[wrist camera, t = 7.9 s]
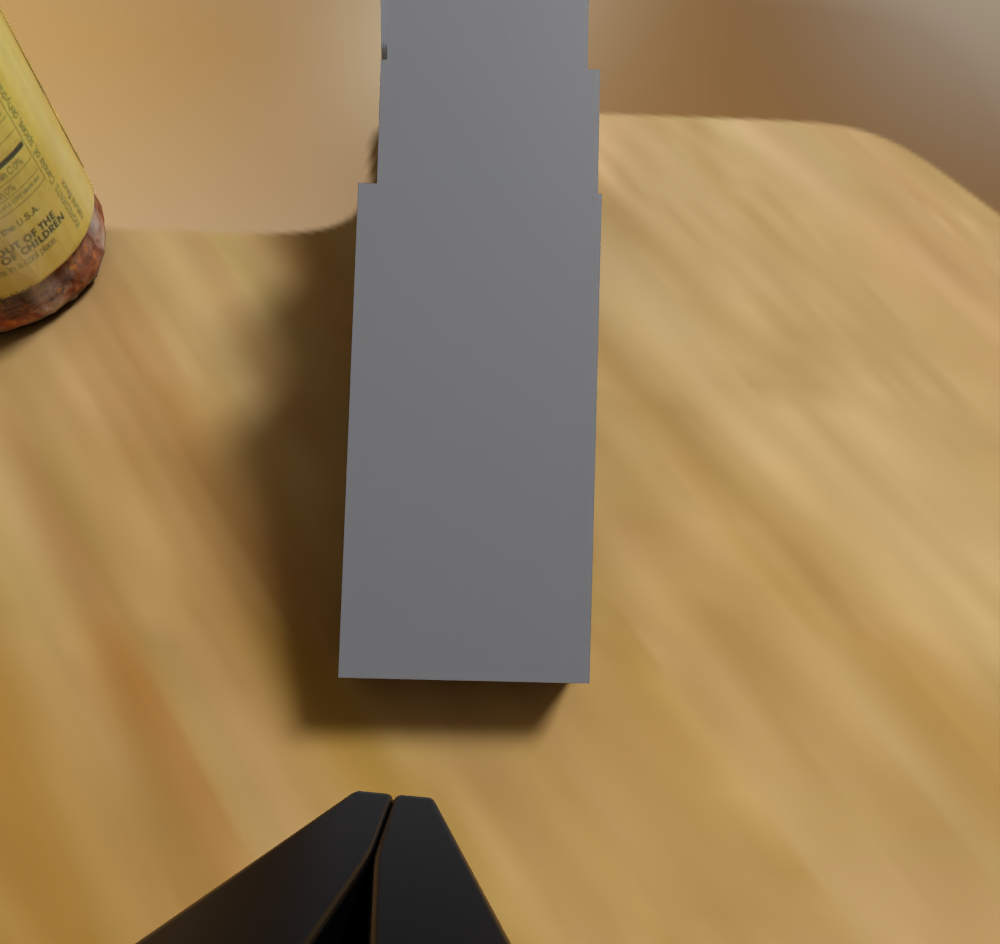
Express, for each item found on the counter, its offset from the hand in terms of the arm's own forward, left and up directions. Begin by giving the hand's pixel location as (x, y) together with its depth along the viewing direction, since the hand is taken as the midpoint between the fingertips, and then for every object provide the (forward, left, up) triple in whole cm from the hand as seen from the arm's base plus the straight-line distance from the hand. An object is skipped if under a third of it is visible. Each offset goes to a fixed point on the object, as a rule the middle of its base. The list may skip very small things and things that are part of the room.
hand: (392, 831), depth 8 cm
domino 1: (+3, -2, -7) cm, 8 cm away
